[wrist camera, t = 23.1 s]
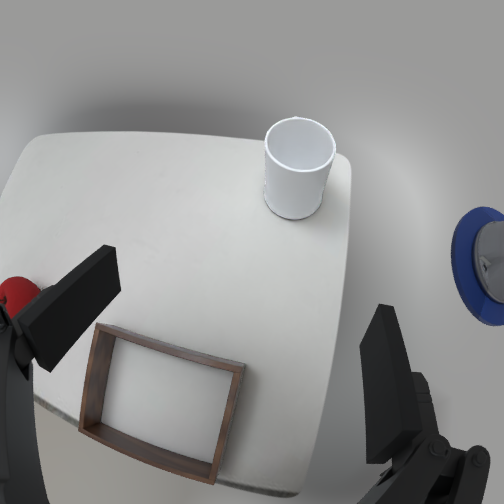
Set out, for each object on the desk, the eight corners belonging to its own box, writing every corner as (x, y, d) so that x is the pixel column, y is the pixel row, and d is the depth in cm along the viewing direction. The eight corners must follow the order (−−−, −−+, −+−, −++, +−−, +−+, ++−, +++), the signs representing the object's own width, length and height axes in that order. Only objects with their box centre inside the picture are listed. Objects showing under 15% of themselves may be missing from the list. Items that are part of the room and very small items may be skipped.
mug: (268, 149, 45) (268, 95, 33) (322, 155, 44) (335, 102, 33) (261, 216, 41) (258, 170, 30) (321, 222, 41) (339, 178, 29)
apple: (44, 344, 38) (2, 340, 28) (15, 322, 39) (-24, 314, 29) (58, 294, 40) (18, 280, 31) (29, 276, 41) (-9, 261, 32)
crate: (219, 470, 32) (213, 485, 27) (95, 424, 34) (78, 431, 29) (245, 363, 36) (242, 366, 31) (113, 325, 38) (96, 322, 34)
